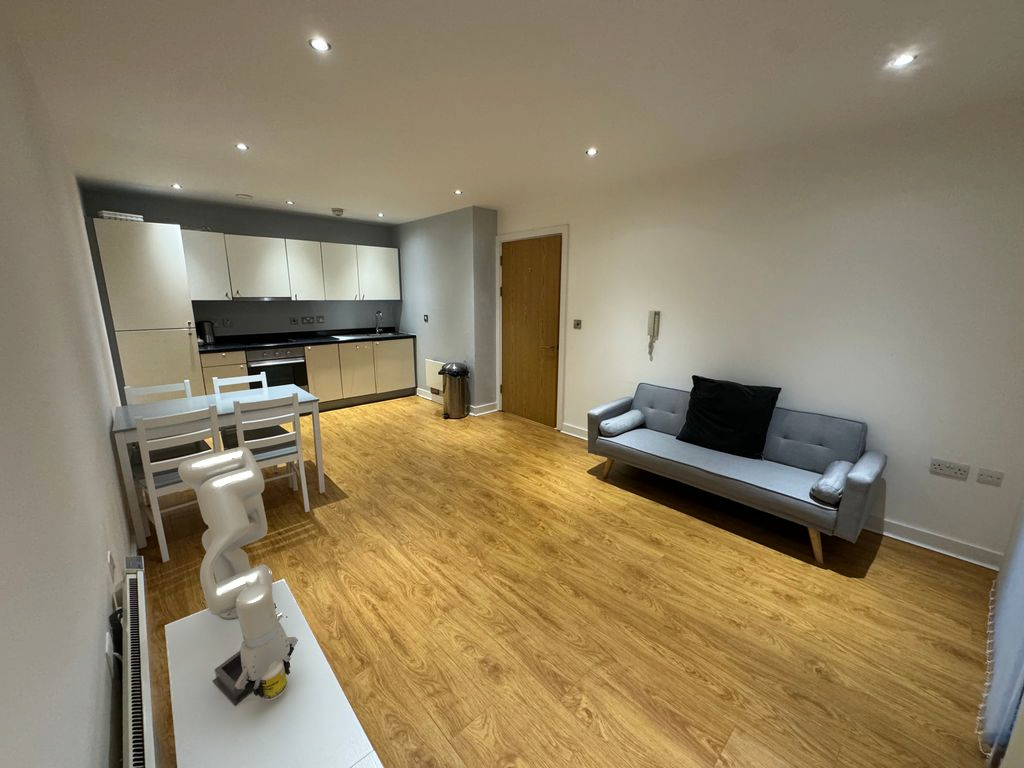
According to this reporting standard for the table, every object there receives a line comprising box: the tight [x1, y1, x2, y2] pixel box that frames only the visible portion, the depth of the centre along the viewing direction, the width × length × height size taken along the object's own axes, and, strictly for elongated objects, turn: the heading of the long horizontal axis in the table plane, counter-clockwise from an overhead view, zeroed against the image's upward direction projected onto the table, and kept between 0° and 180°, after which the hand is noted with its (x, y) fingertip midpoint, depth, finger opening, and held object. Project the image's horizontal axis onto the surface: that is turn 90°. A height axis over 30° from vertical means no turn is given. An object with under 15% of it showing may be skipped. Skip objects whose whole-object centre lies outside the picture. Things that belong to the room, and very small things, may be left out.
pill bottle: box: [260, 660, 288, 701], centre depth 106 cm, size 6×6×11 cm
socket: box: [211, 649, 253, 707], centre depth 113 cm, size 12×12×4 cm
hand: (273, 682), depth 107 cm, fingers closed on pill bottle, 6 cm apart
